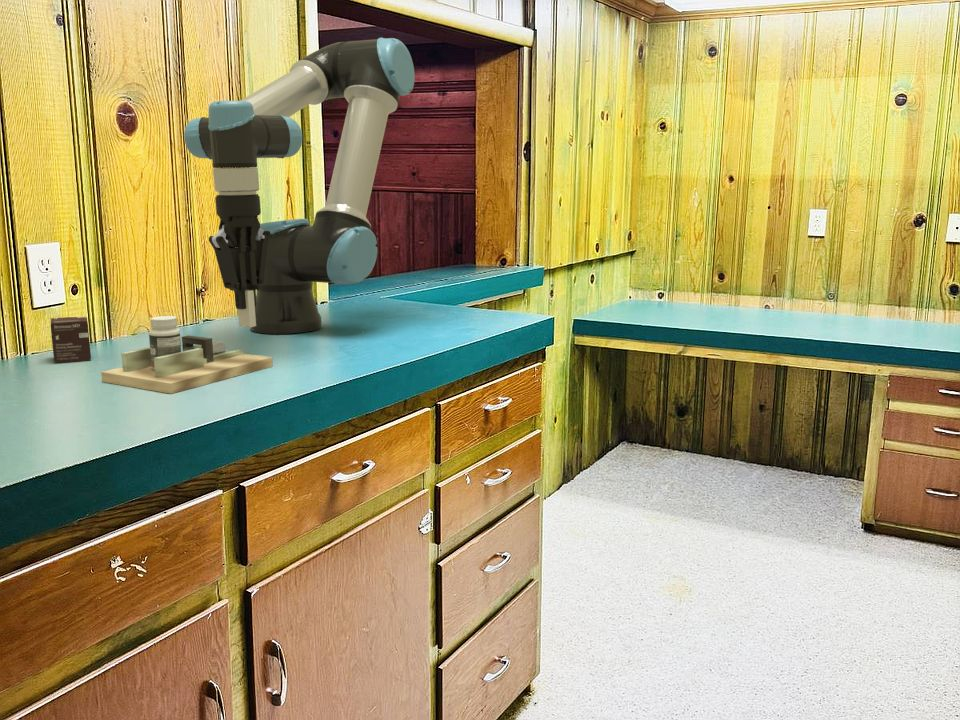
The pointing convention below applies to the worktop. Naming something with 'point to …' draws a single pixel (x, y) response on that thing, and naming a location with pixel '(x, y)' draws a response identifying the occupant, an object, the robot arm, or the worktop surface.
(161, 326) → the pill bottle
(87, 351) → the box
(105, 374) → the mount
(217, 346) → the pin
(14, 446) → the worktop surface
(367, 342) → the worktop surface
